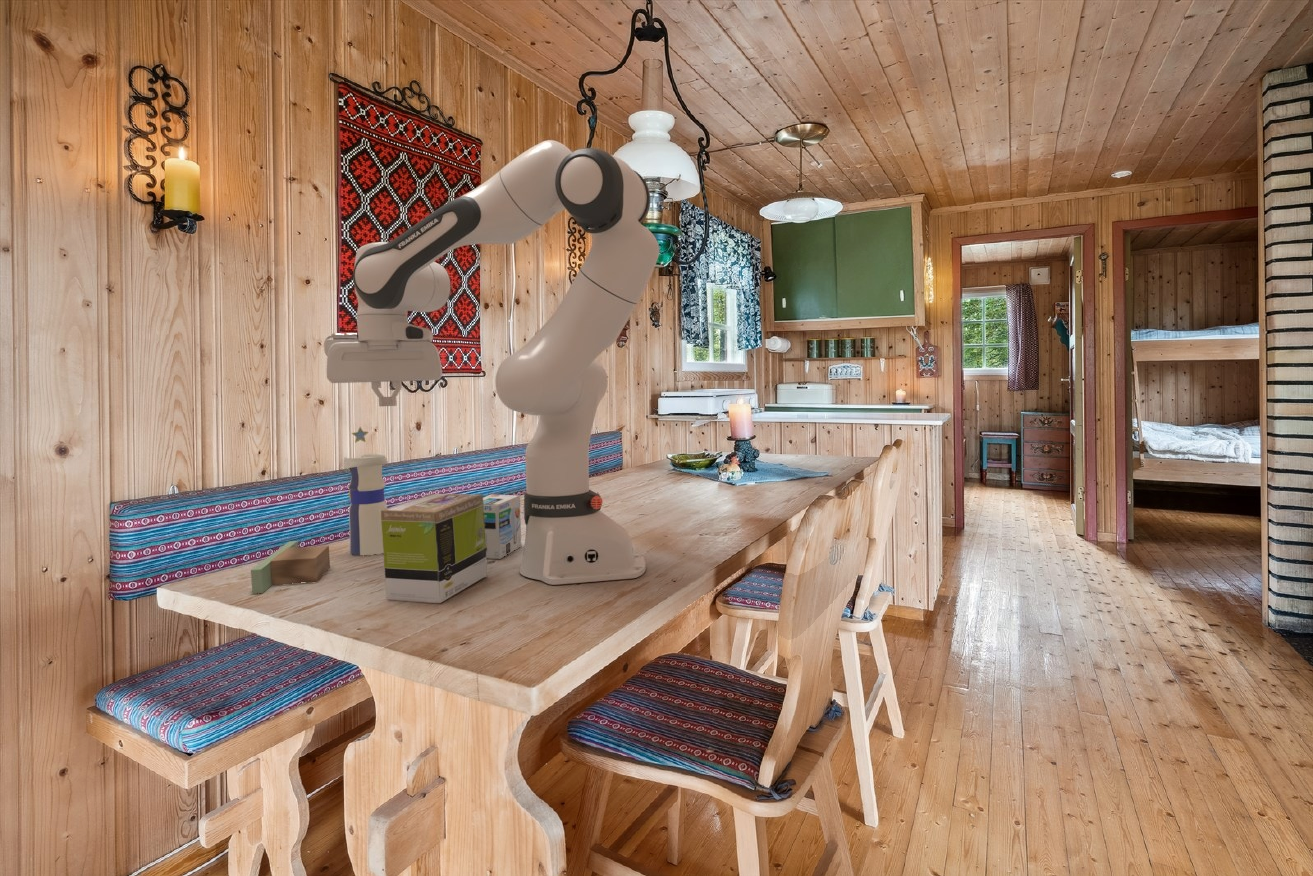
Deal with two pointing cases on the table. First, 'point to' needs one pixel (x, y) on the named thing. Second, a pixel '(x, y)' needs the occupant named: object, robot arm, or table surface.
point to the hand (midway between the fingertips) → (388, 406)
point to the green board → (266, 570)
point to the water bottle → (366, 501)
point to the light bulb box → (501, 525)
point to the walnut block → (300, 565)
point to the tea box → (433, 547)
